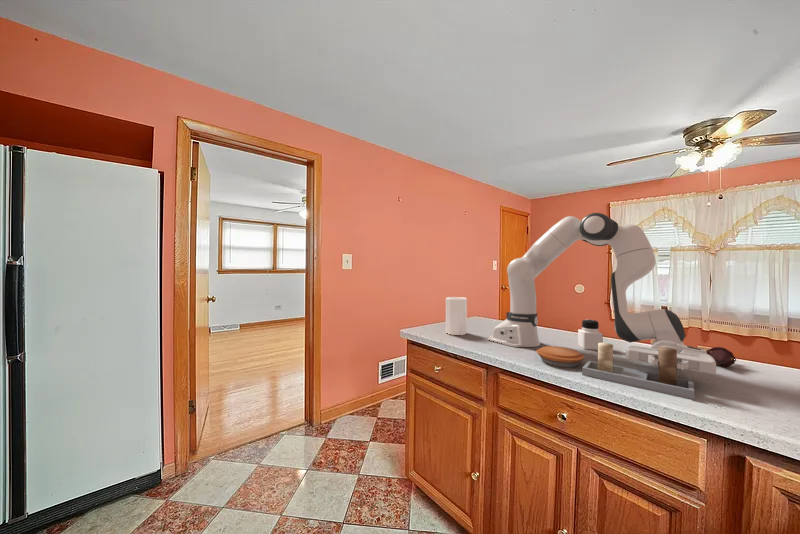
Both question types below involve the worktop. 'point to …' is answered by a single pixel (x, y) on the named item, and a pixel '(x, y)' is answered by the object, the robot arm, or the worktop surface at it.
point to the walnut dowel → (667, 366)
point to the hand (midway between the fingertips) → (667, 365)
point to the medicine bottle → (589, 335)
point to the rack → (640, 379)
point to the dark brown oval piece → (722, 356)
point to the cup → (456, 315)
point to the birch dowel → (605, 357)
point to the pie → (560, 356)
